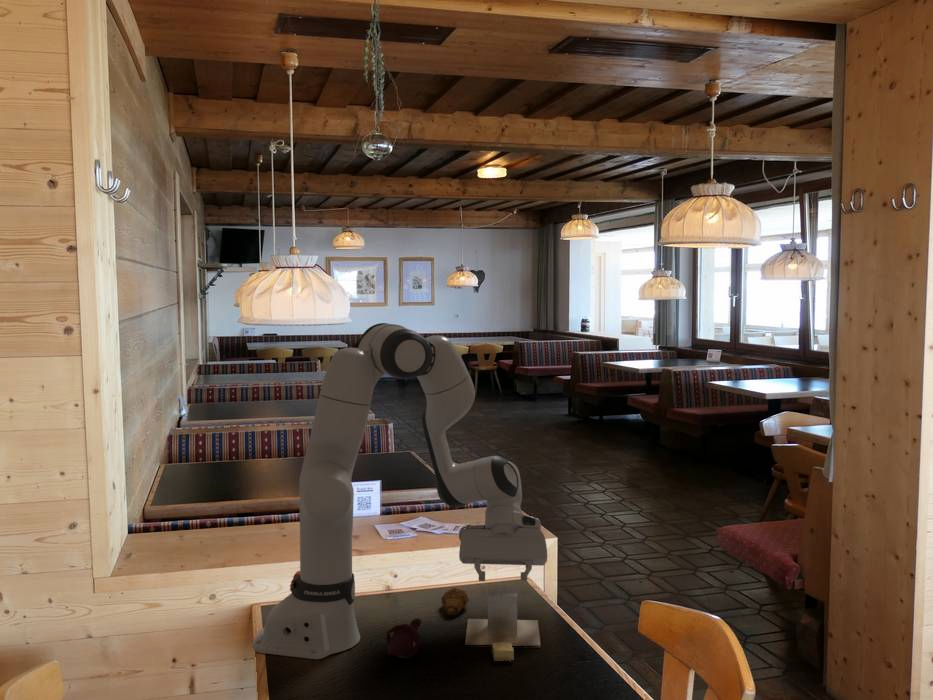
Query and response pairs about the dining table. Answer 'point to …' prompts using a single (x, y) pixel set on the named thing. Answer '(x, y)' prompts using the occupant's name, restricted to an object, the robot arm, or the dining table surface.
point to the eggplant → (404, 639)
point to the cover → (502, 610)
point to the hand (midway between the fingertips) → (502, 580)
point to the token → (502, 651)
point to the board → (479, 636)
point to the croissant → (454, 601)
